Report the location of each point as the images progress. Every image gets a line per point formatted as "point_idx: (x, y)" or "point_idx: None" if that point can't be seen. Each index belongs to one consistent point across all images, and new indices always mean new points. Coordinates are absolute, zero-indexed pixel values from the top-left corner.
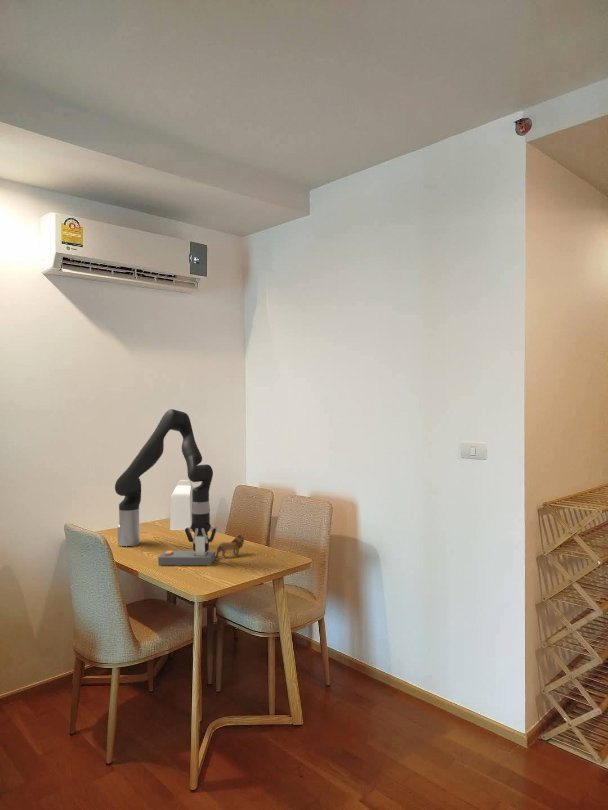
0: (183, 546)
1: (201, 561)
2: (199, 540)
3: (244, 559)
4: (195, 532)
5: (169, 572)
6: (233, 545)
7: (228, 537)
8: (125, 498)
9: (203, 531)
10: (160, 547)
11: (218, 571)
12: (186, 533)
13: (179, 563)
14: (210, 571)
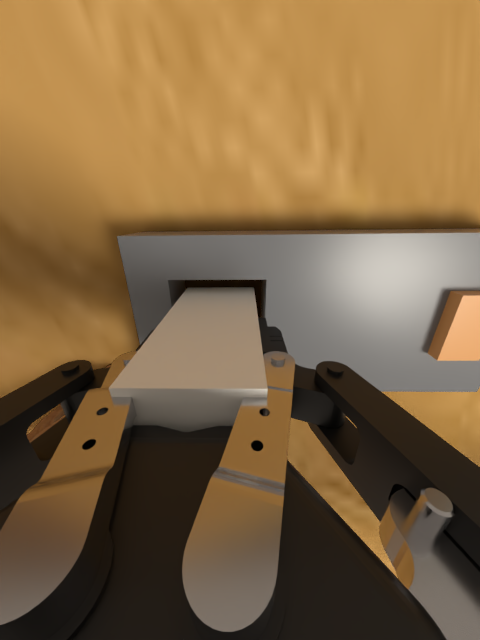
0: (354, 501)
1: (196, 233)
2: (204, 354)
3: (6, 351)
4: (271, 466)
5: (415, 42)
6: (36, 437)
7: None
8: None
9: (60, 483)
10: None
11: (31, 90)
12: (456, 458)
13: (354, 230)
14: (91, 88)
